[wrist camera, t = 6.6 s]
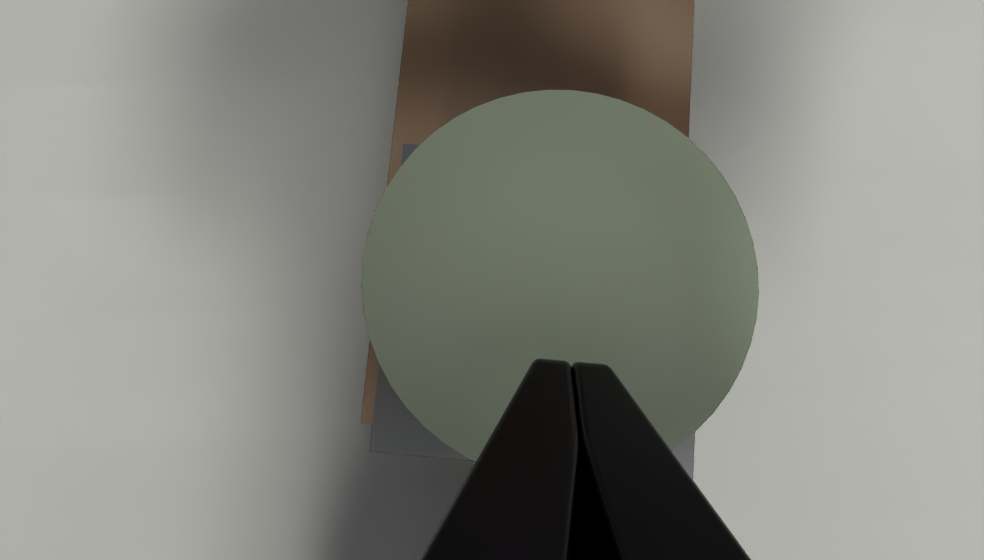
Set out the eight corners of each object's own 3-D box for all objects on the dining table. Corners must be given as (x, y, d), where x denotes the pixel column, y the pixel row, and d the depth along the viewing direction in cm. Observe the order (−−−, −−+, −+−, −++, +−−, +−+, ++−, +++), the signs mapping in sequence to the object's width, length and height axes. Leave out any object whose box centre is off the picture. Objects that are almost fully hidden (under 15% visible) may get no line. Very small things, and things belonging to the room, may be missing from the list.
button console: (668, 448, 20) (774, 486, 12) (365, 421, 20) (289, 444, 12) (694, -177, 23) (792, -446, 15) (434, -196, 23) (406, -472, 16)
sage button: (656, 455, 14) (753, 499, 9) (396, 433, 14) (339, 463, 9) (667, 203, 15) (763, 105, 10) (422, 183, 15) (384, 75, 10)
